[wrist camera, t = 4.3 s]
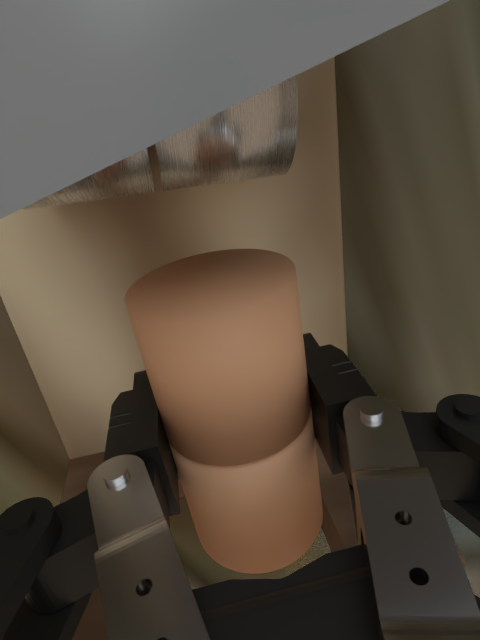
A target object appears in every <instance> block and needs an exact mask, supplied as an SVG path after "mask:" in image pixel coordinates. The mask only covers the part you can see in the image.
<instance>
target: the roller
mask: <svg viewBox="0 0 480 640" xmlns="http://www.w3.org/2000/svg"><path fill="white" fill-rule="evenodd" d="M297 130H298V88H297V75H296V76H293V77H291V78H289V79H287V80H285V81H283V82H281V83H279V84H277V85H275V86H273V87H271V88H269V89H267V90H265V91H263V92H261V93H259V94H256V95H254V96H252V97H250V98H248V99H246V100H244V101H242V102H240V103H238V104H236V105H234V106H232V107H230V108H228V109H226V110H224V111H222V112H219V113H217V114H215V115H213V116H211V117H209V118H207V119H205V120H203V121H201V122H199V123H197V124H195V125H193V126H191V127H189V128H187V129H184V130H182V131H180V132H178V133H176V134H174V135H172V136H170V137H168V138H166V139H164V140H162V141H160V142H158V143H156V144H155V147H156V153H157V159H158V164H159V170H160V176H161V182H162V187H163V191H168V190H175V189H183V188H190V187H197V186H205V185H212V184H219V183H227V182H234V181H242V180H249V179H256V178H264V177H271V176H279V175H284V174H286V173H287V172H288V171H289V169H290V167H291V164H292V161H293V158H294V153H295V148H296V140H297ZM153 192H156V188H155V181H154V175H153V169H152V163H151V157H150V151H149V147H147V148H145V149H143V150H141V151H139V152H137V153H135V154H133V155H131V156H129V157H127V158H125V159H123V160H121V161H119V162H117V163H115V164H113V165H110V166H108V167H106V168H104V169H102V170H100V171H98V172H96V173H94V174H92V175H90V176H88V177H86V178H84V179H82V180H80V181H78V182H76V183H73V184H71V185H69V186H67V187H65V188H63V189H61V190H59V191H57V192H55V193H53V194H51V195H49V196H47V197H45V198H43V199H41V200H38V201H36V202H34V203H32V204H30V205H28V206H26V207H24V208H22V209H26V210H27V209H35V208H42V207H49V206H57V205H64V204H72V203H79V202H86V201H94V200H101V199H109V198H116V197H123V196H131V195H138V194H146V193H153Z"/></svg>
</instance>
